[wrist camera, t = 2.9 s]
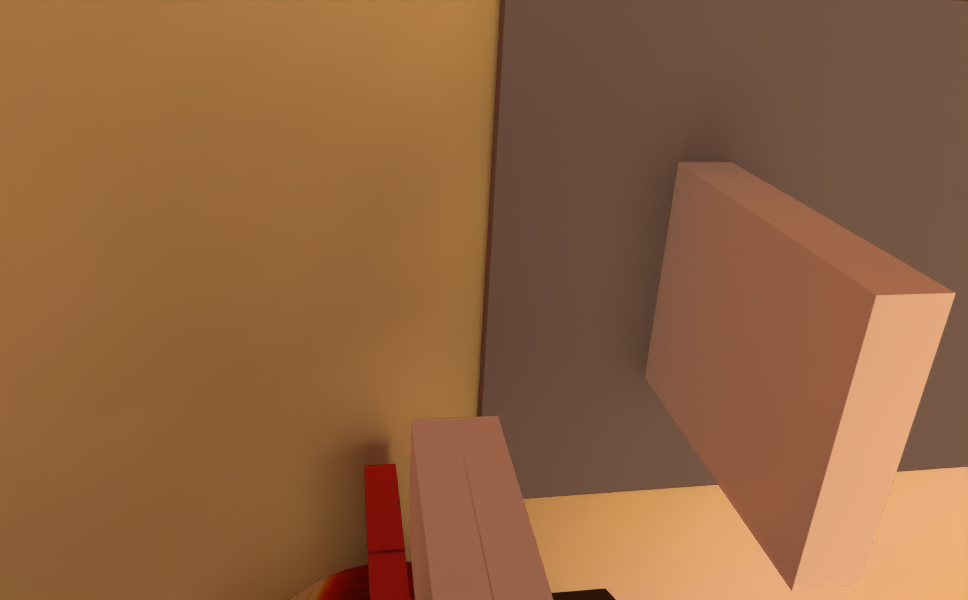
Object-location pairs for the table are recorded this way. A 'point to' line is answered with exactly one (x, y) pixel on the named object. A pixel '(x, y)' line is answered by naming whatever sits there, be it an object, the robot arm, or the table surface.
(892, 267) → the tile
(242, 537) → the table surface
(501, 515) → the robot arm
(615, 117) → the mat
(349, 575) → the mug
